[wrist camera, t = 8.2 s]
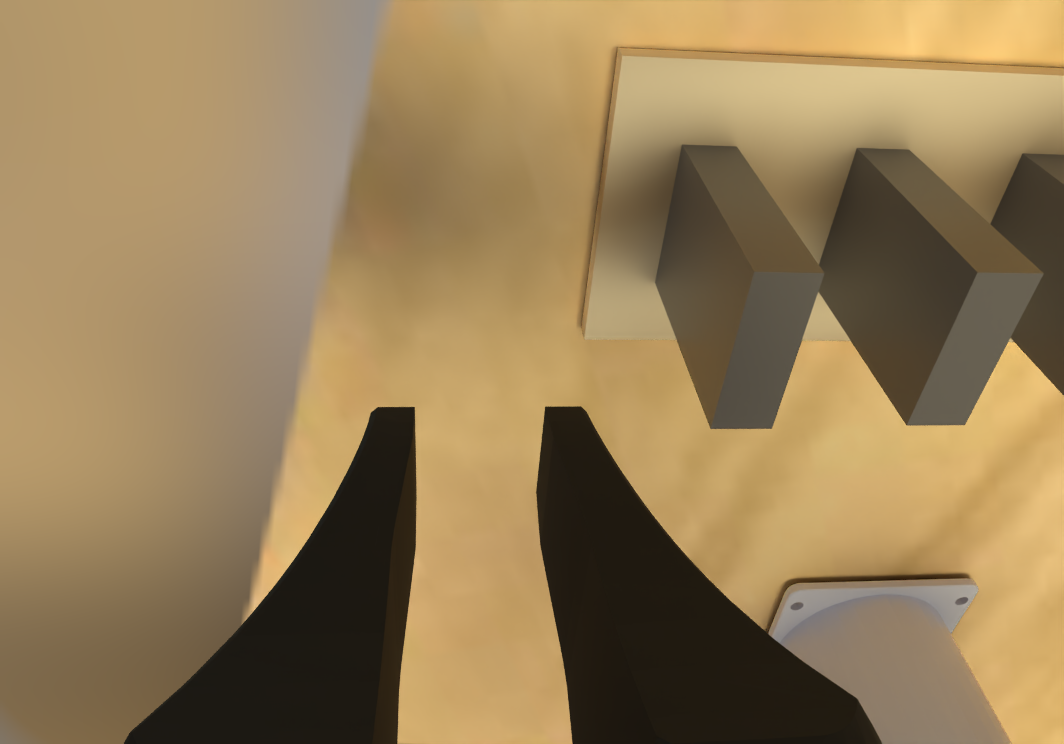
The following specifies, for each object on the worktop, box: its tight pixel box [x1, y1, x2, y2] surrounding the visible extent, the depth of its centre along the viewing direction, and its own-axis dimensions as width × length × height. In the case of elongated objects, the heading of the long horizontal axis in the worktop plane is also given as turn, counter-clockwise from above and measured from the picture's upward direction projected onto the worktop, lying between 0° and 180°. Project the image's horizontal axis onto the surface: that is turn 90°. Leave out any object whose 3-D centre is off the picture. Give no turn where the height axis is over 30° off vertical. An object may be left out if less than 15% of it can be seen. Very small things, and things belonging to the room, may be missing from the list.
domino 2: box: [818, 148, 1044, 425], centre depth 20 cm, size 4×1×6 cm, turn 176°
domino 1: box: [655, 144, 824, 429], centre depth 19 cm, size 4×1×6 cm, turn 175°
